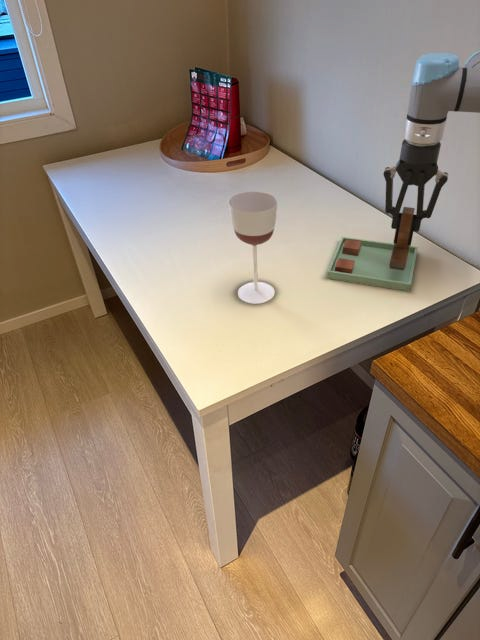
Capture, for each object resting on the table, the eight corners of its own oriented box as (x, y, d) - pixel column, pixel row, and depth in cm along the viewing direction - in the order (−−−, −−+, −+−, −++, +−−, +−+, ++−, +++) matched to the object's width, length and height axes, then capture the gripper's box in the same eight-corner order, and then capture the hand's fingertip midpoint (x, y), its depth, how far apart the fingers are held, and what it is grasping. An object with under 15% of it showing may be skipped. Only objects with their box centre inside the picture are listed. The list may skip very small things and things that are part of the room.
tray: (416, 253, 123) (417, 246, 122) (409, 291, 111) (411, 284, 110) (341, 243, 129) (341, 236, 128) (326, 278, 117) (327, 271, 115)
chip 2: (354, 267, 119) (354, 260, 118) (351, 275, 116) (351, 269, 115) (337, 264, 120) (338, 257, 119) (334, 273, 117) (335, 266, 116)
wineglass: (245, 277, 119) (240, 189, 104) (283, 286, 115) (284, 196, 100) (228, 298, 112) (220, 207, 98) (267, 308, 109) (266, 215, 94)
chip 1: (360, 248, 126) (361, 241, 124) (357, 256, 123) (358, 249, 121) (345, 246, 127) (345, 239, 126) (342, 253, 124) (342, 247, 123)
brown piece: (410, 241, 120) (419, 197, 113) (404, 271, 110) (413, 225, 103) (396, 239, 121) (403, 196, 114) (388, 268, 111) (396, 223, 104)
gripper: (380, 143, 98) (366, 244, 113) (462, 150, 93) (436, 254, 108) (385, 131, 103) (371, 229, 118) (463, 137, 99) (438, 238, 114)
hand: (402, 241), depth 113 cm, fingers closed on brown piece, 2 cm apart
